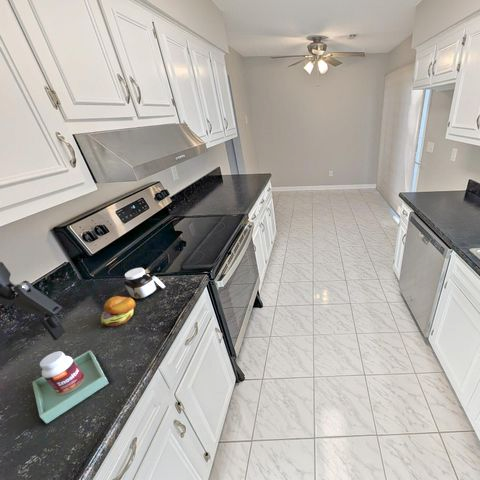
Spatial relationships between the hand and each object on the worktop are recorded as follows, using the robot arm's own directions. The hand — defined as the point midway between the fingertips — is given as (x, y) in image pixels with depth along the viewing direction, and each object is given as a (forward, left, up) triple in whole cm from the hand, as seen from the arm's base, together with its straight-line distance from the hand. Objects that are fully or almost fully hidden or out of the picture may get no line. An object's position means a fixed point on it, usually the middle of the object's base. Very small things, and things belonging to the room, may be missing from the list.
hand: (31, 339), depth 64 cm
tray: (+1, +1, -19) cm, 19 cm away
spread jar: (-28, +32, -19) cm, 46 cm away
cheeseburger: (-20, +19, -19) cm, 33 cm away
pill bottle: (+1, +1, -18) cm, 18 cm away
